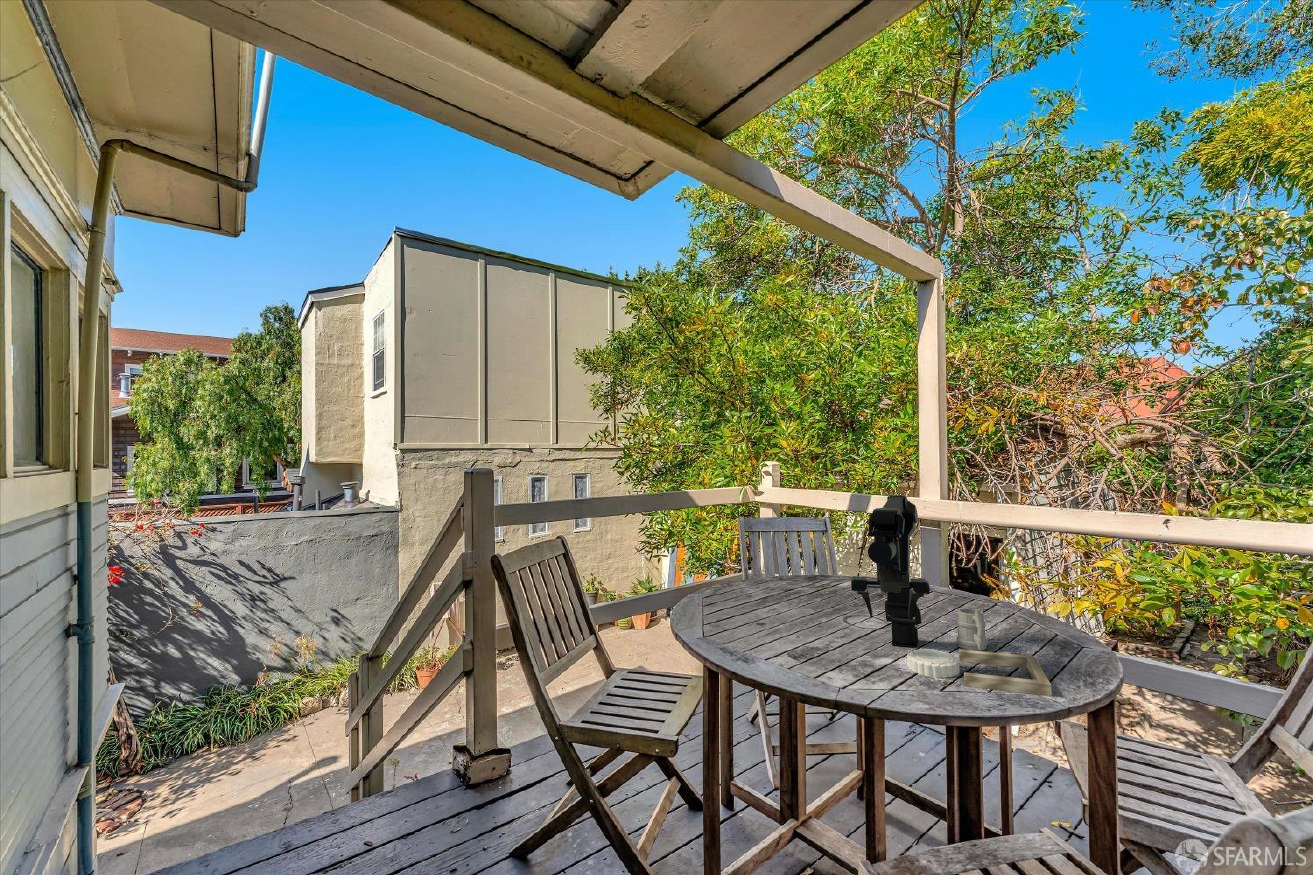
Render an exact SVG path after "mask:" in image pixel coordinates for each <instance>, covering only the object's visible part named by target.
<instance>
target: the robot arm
mask: <svg viewBox="0 0 1313 875" xmlns="http://www.w3.org/2000/svg"><path fill="white" fill-rule="evenodd" d="M918 516H919V515H918V510H917V507H916V504H914V503H913V502H911V501H909V500H908V496H906V495H904V494H903V495H899V494H898V495H897V494H890V495H887V498H886V502H885V503H884V505H883V506H882V507H878V508H877V507H876V508H874V509H873V510H872V512H871V513H870V514H869V520H868V521H869V522H868V532H867V537H869V538H871V537H872V538H873V540H874V541H872V543H871V544H870V545H869V546H868V549H867V555H868V557H869V559H870V560H871V561H872V562H873V563H874V564H875V565H876V580H871V579H869V580H868V579H867V576H858V575H857V576H856V575H855V576H854V575H853V576H852V577H851V578H850V588H851V591H853V592H856V594H857V595H860V596H861V597H862V599H863V600H864V602H865V605H866V608H867V612H868V614H869V617H870V618H871V619H872V618H873V609H872V603H871V598H870V593H869V589H870V588H871V589H872V588H873V589H880V591H881V592H882V593H884V594H886V597H887V598H886V600H885V602H884V613H885V621H886V622H887V623H890V624H891V645H892V646H896V647H907V648H917V646H918V645H917V644H919V631H918V630H919V628H918V625H922V623H923V622H922V612H921V608H919V604H918V601H919V599H920V598H923V597H925V595H930V594H931V589H930V588H931V586H930V584H929V581H928V580H927V579H925V578H916V577H915V578H914V577H913V578H912V577H910V576H911V575H910V574H911V573H910V570H911V568H910V562H911V561H910V560H911V559H910V557H911V556H910V551H911V550H910V545H911V543H910V542H911V541H910V540H911V539H910V538H911V536H912V535H913V534H914V532H915V531H916V524H917V523H918V522H919V521H918V520H919V518H918ZM886 622H885V623H886Z"/></svg>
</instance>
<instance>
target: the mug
mask: <svg viewBox="0 0 1313 875" xmlns="http://www.w3.org/2000/svg"><path fill="white" fill-rule="evenodd" d="M956 624H957V635H956V642H957V646H958V647H959V648H962V650H972V651H985V650H987V646H988V642H989V641H988V639H987V637H986V626H987V624H986V621H985V615H984V611H983V610H982V609H979V608H964V607H963V608H959V609H957V619H956Z"/></svg>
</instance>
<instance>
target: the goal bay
mask: <svg viewBox="0 0 1313 875" xmlns="http://www.w3.org/2000/svg"><path fill="white" fill-rule="evenodd" d="M958 659H959V662H962V663H963V662H964V663H973V664H981V665H993V666H1002V667H1011V668H1020V669H1021V668H1023V669H1027V670H1028V672H1029V675H1030V677H1031V679H1028V678H1020V677H1011V676H1000V675H993V674H983V673H972V672H967V671H966V672H965V671H964V672H963V678H964V679H963V681H964V682H963V683H964V686H965V687H970V688H977V689H978V688H979V689H986V690H996V691H1004V692H1011V693H1012V692H1014V693H1019V694H1020V693H1021V694H1030V695H1038V696H1039V695H1040V696H1044V697H1045V696H1047V697H1052V683H1051V682H1050V680H1049V678H1048V677H1047V675H1046V674H1045V672H1044V670H1043V669H1042V667H1041V665H1040V664H1039V662H1038V660H1037V658H1036V657H1035V655H1033V656H1032V655H1025V654H1024V655H1022V654H1014V653H1003V652H1002V653H1001V652H991V651H984V650H982V651H972V650H966V649H963V648H962V649H960V648H959V649H958Z"/></svg>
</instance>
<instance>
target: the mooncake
mask: <svg viewBox="0 0 1313 875" xmlns="http://www.w3.org/2000/svg"><path fill="white" fill-rule="evenodd" d="M906 663H907V666H906V667H907V668H908V669H909V671H912V672H913V673H916V674H919V675H920V676H926V677H929V678H931V677H933V678H944V679H947V678H953V677H955V676H956V677H957V676H958V674H960V673H961V672H960V660H959V658H957V657H956V656H955V655H954V654H951V653H949V652H946V651H940V650H937V649H929V648H922V649H913V650H910V652H907V656H906Z"/></svg>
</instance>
